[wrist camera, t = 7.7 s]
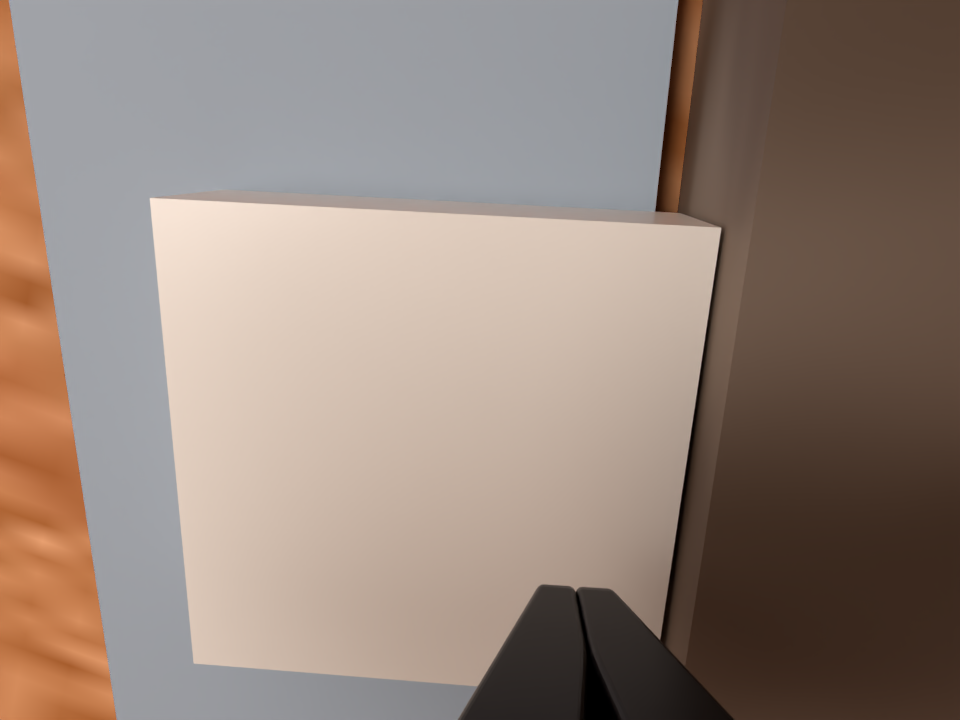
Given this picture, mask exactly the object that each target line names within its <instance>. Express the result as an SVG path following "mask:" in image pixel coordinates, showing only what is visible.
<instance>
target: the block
mask: <svg viewBox="0 0 960 720" xmlns="http://www.w3.org/2000/svg"><path fill="white" fill-rule="evenodd" d="M150 207H151V218H152V228H153V239H154V249H155V260H156V271H157V281H158V292H159V303H160V313H161V324H162V334H163V345H164V356H165V366H166V377H167V387H168V398H169V409H170V419H171V430H172V440H173V451H174V462H175V472H176V483H177V493H178V504H179V515H180V525H181V536H182V546H183V557H184V568H185V578H186V589H187V599H188V610H189V621H190V631H191V642H192V652H193V663H194V664H205V665H218V666H230V667H243V668H255V669H267V670H280V671H292V672H305V673H317V674H329V675H342V676H354V677H367V678H379V679H391V680H404V681H416V682H429V683H441V684H453V685H466V686H478V685H479V683H480V682H481V680H482V678H483V677H484V675H485V673H486V672H487V670H488V668H489V667H490V665H491V663H492V662H493V660H494V658H495V657H496V655H497V653H498V652H499V650H500V648H501V647H502V645H503V643H504V642H505V640H506V638H507V637H508V635H509V633H510V632H511V630H512V628H513V627H514V625H515V624H516V622H517V620H518V619H519V617H520V615H521V614H522V612H523V610H524V609H525V607H526V605H527V604H528V602H529V600H530V599H531V597H532V595H533V594H534V592H535V590H536V589H537V587H538V586H540V585H541V584H548V585H563V586H571V587H572V588H574V590H575V592H576V590H577V589H578V588H579V587H594V588H608V589H611V590H613V591H614V592H615V593H616V594H617V595H618V596H619V597H620V598H621V599H622V600H623V601H624V602H625V603H626V604H627V605H628V606H629V607H630V609H631V610H632V611H633V612H634V613H635V614H636V615H637V616H638V617H639V618H640V619H641V620H642V621H643V622H644V624H645V625H646V626H647V627H648V628H649V629H650V630H651V631H652V632H653V633H654V634H655V635H656V636H657V637H658V638H659V640H660V637H661V631H662V624H663V617H664V610H665V604H666V597H667V590H668V583H669V577H670V570H671V563H672V557H673V550H674V543H675V536H676V530H677V523H678V516H679V510H680V503H681V496H682V489H683V483H684V476H685V469H686V463H687V456H688V449H689V442H690V436H691V429H692V422H693V415H694V409H695V402H696V395H697V389H698V382H699V375H700V368H701V362H702V355H703V348H704V342H705V335H706V328H707V321H708V315H709V308H710V301H711V294H712V288H713V281H714V274H715V268H716V261H717V254H718V247H719V241H720V234H721V227H718V226H715V225H712V224H710V223H707V222H704V221H701V220H698V219H696V218H693V217H690V216H687V215H684V214H682V213H672V212H652V211H633V210H613V209H594V208H574V207H555V206H535V205H516V204H496V203H477V202H457V201H438V200H418V199H399V198H379V197H360V196H340V195H321V194H301V193H282V192H262V191H243V190H215V191H206V192H197V193H189V194H180V195H171V196H162V197H153V198H150Z"/></svg>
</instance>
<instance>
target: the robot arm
mask: <svg viewBox="0 0 960 720" xmlns="http://www.w3.org/2000/svg"><path fill="white" fill-rule="evenodd" d="M458 720H734V718H733V717H732V716H731V715H730V714H729V713H728V712H727V711H726V710H725V709H724V708H723V707H722V706H721V705H720V704H719V702H718V701H717V700H716V699H715V698H714V697H713V696H712V695H711V694H710V693H709V692H708V691H707V690H706V689H705V688H704V686H703V685H702V684H701V683H700V682H699V681H698V680H697V679H696V678H695V677H694V676H693V675H692V674H691V673H690V672H689V670H688V669H687V668H686V667H685V666H684V665H683V664H682V663H681V662H680V661H679V660H678V659H677V658H676V657H675V656H674V654H673V653H672V652H671V651H670V650H669V649H668V648H667V647H666V646H665V645H664V644H663V643H662V642H661V641H660V640H659V638H658V637H657V636H656V635H655V634H654V633H653V632H652V631H651V630H650V629H649V628H648V627H647V626H646V625H645V624H644V622H643V621H642V620H641V619H640V618H639V617H638V616H637V615H636V614H635V613H634V612H633V611H632V610H631V609H630V607H629V606H628V605H627V604H626V603H625V602H624V601H623V600H622V599H621V598H620V597H619V596H618V595H617V594H616V593H615V592H614V591H613V590H611V589H608V588H594V587H579V588H578V589H577V590H576V592H575V590H574V588H572V587H571V586H563V585H548V584H541V585H540V586H538V587H537V589H536V590H535V592H534V594H533V595H532V597H531V599H530V600H529V602H528V604H527V605H526V607H525V609H524V610H523V612H522V614H521V615H520V617H519V619H518V620H517V622H516V624H515V625H514V627H513V628H512V630H511V632H510V633H509V635H508V637H507V638H506V640H505V642H504V643H503V645H502V647H501V648H500V650H499V652H498V653H497V655H496V657H495V658H494V660H493V662H492V663H491V665H490V667H489V668H488V670H487V672H486V673H485V675H484V677H483V678H482V680H481V682H480V683H479V685H478V687H477V688H476V690H475V691H474V693H473V695H472V696H471V698H470V700H469V701H468V703H467V705H466V706H465V708H464V710H463V711H462V713H461V715H460V716H459V718H458Z"/></svg>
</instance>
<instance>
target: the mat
mask: <svg viewBox="0 0 960 720" xmlns="http://www.w3.org/2000/svg"><path fill="white" fill-rule="evenodd" d="M9 4H10V10H11V17H12V24H13V30H14V37H15V44H16V50H17V57H18V64H19V70H20V77H21V84H22V90H23V97H24V104H25V110H26V117H27V124H28V131H29V137H30V144H31V151H32V157H33V164H34V171H35V177H36V184H37V191H38V197H39V204H40V211H41V217H42V224H43V231H44V237H45V244H46V251H47V257H48V264H49V271H50V277H51V284H52V291H53V297H54V304H55V311H56V317H57V324H58V331H59V337H60V344H61V351H62V357H63V364H64V371H65V377H66V384H67V391H68V397H69V404H70V411H71V417H72V424H73V431H74V437H75V444H76V451H77V457H78V464H79V471H80V477H81V484H82V491H83V497H84V504H85V511H86V518H87V524H88V531H89V538H90V544H91V551H92V558H93V564H94V571H95V578H96V584H97V591H98V598H99V604H100V611H101V618H102V624H103V631H104V638H105V644H106V651H107V658H108V664H109V671H110V678H111V684H112V691H113V698H114V704H115V711H116V718H117V720H458V718H459V716H460V715H461V713H462V711H463V710H464V708H465V706H466V705H467V703H468V701H469V700H470V698H471V696H472V695H473V693H474V691H475V690H476V688H477V687H478V686H466V685H453V684H441V683H429V682H416V681H404V680H391V679H379V678H367V677H354V676H342V675H329V674H317V673H305V672H292V671H280V670H267V669H255V668H243V667H230V666H218V665H205V664H194V663H193V652H192V642H191V631H190V621H189V610H188V599H187V589H186V578H185V568H184V557H183V546H182V536H181V525H180V515H179V504H178V493H177V483H176V472H175V462H174V451H173V440H172V430H171V419H170V409H169V398H168V387H167V377H166V366H165V356H164V345H163V334H162V324H161V313H160V303H159V292H158V281H157V271H156V260H155V249H154V239H153V228H152V218H151V207H150V198H153V197H162V196H171V195H180V194H189V193H197V192H206V191H215V190H243V191H262V192H282V193H301V194H321V195H340V196H360V197H379V198H399V199H418V200H438V201H457V202H477V203H496V204H516V205H535V206H555V207H574V208H594V209H613V210H633V211H652V212H655V208H656V199H657V190H658V181H659V172H660V163H661V153H662V144H663V135H664V126H665V117H666V108H667V99H668V90H669V81H670V72H671V63H672V54H673V45H674V36H675V27H676V18H677V8H678V0H9Z"/></svg>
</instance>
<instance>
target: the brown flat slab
mask: <svg viewBox="0 0 960 720" xmlns="http://www.w3.org/2000/svg"><path fill="white" fill-rule="evenodd" d="M678 213H682V214H684V215H687V216H690V217H693V218H696V219H698V220H701V221H704V222H707V223H710V224H712V225H715V226H718V227H721V234H720V241H719V247H718V254H717V261H716V268H715V274H714V281H713V288H712V294H711V301H710V308H709V315H708V321H707V328H706V335H705V342H704V348H703V355H702V362H701V368H700V375H699V382H698V389H697V395H696V402H695V409H694V415H693V422H692V429H691V436H690V442H689V449H688V456H687V463H686V469H685V476H684V483H683V489H682V496H681V503H680V510H679V516H678V523H677V530H676V536H675V543H674V550H673V557H672V563H671V570H670V577H669V583H668V590H667V597H666V604H665V610H664V617H663V624H662V631H661V637H660V641H661V642H662V643H663V644H664V645H665V646H666V647H667V648H668V649H669V650H670V651H671V652H672V653H673V654H674V656H675V657H676V658H677V659H678V660H679V661H680V662H681V663H682V664H683V665H684V666H685V667H686V668H687V669H688V670H689V672H690V673H691V674H692V675H693V676H694V677H695V678H696V679H697V680H698V681H699V682H700V683H701V684H702V685H703V686H704V688H705V689H706V690H707V691H708V692H709V693H710V694H711V695H712V696H713V697H714V698H715V699H716V700H717V701H718V702H719V704H720V705H721V706H722V707H723V708H724V709H725V710H726V711H727V712H728V713H729V714H730V715H731V716H732V717H733V718H734V720H960V0H703V6H702V14H701V22H700V31H699V39H698V47H697V56H696V64H695V72H694V81H693V89H692V97H691V106H690V114H689V122H688V131H687V139H686V147H685V156H684V164H683V172H682V181H681V189H680V197H679V206H678Z"/></svg>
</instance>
